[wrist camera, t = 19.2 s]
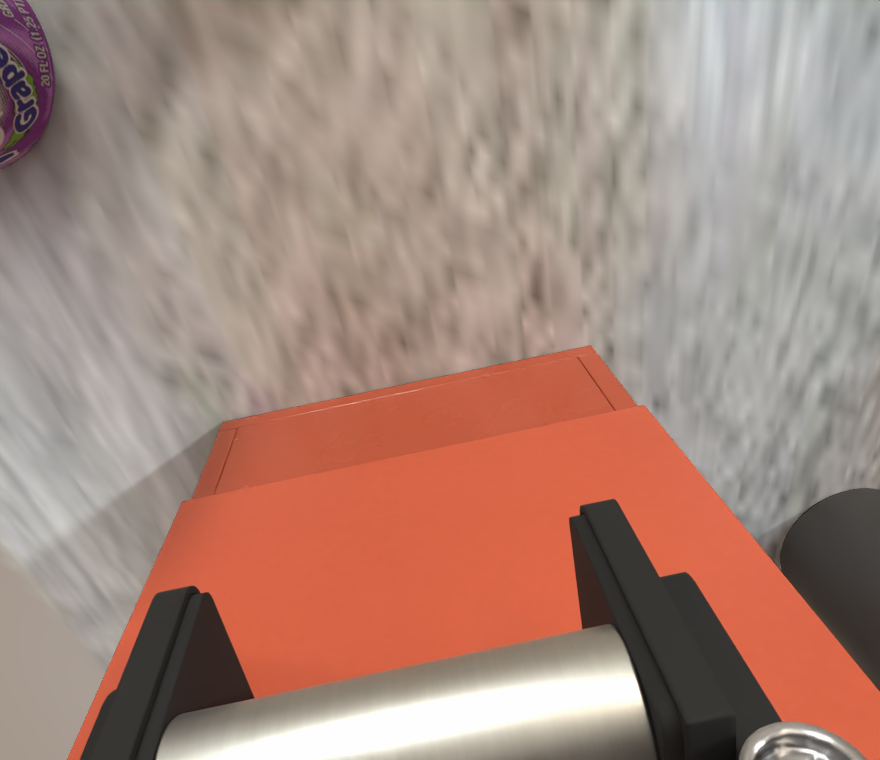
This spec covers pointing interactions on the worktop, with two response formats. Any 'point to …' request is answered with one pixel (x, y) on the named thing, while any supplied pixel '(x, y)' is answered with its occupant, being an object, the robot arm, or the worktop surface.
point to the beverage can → (23, 80)
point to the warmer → (410, 419)
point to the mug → (841, 571)
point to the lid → (473, 605)
